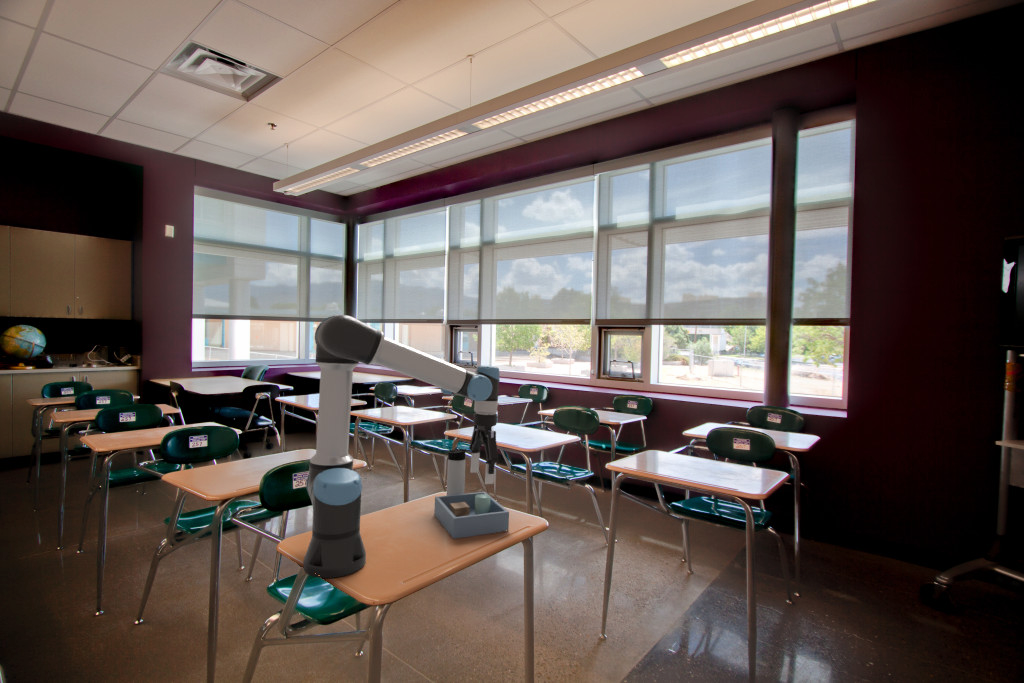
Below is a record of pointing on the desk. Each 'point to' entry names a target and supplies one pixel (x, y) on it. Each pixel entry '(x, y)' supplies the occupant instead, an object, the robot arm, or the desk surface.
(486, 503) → the teal cylinder
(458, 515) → the walnut cube
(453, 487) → the travel mug
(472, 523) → the tote
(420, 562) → the desk surface
